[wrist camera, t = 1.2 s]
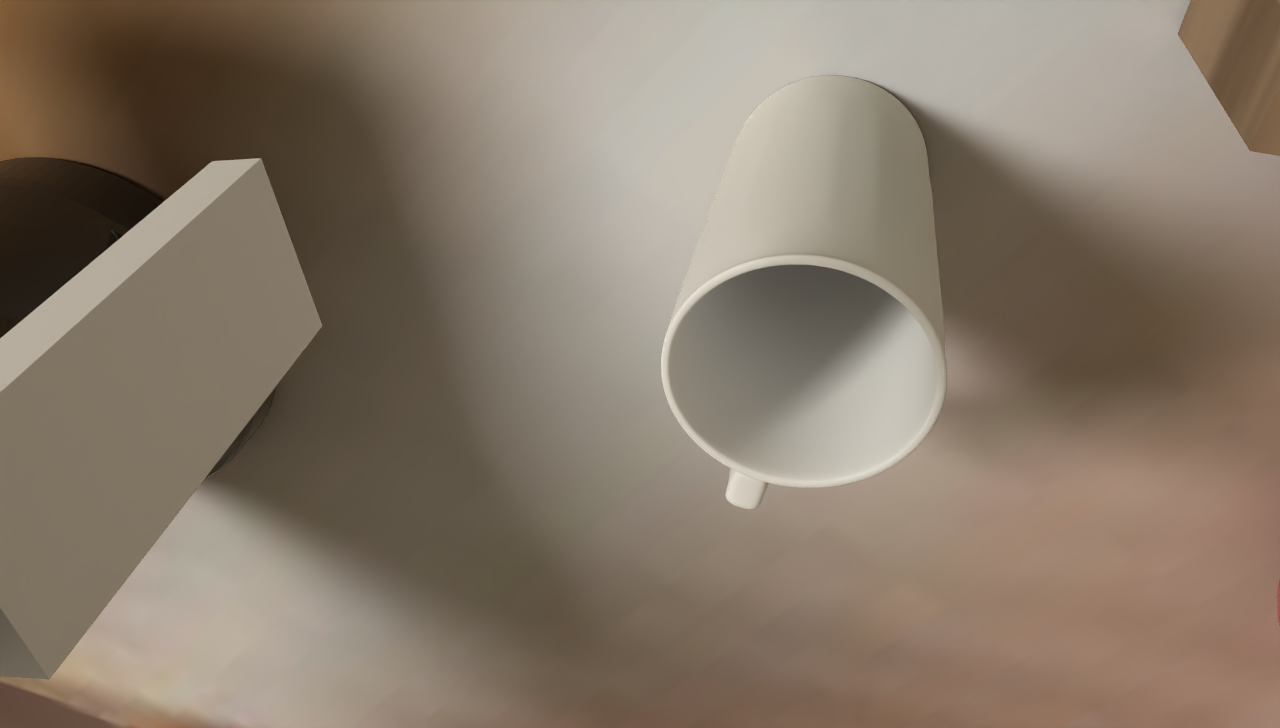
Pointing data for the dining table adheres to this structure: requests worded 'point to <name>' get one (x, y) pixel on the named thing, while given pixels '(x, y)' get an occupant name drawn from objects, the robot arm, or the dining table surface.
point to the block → (1240, 63)
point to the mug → (813, 296)
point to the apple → (1279, 601)
